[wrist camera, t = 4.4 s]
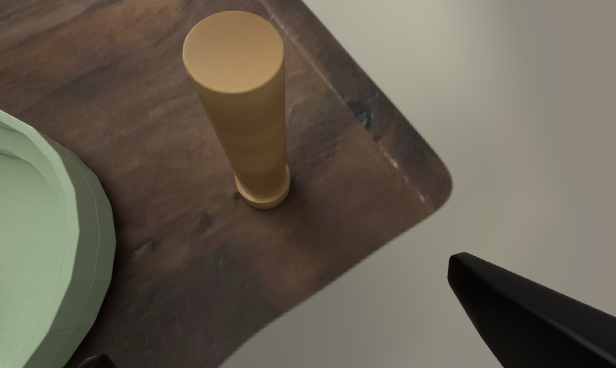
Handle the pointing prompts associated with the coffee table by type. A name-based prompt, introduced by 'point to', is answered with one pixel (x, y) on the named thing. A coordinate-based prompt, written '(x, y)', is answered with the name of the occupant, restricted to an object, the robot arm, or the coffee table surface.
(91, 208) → the bowl
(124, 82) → the coffee table surface
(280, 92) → the tan wooden cylinder
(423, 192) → the coffee table surface
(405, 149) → the coffee table surface
